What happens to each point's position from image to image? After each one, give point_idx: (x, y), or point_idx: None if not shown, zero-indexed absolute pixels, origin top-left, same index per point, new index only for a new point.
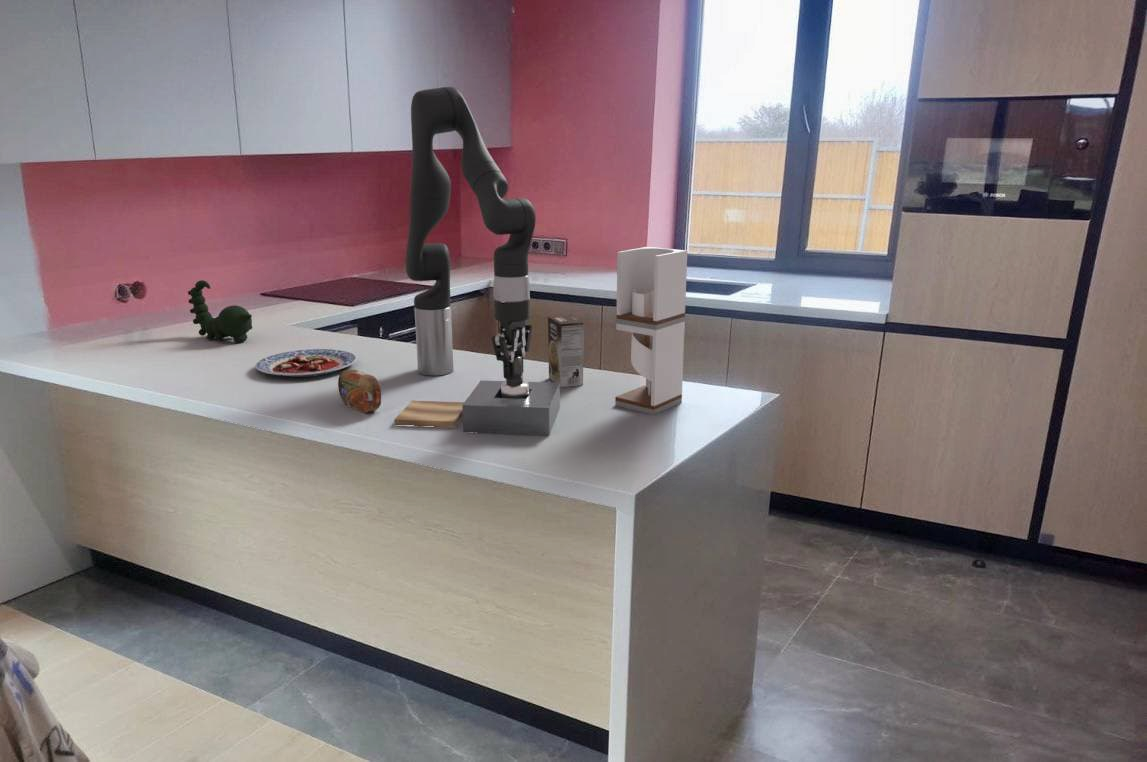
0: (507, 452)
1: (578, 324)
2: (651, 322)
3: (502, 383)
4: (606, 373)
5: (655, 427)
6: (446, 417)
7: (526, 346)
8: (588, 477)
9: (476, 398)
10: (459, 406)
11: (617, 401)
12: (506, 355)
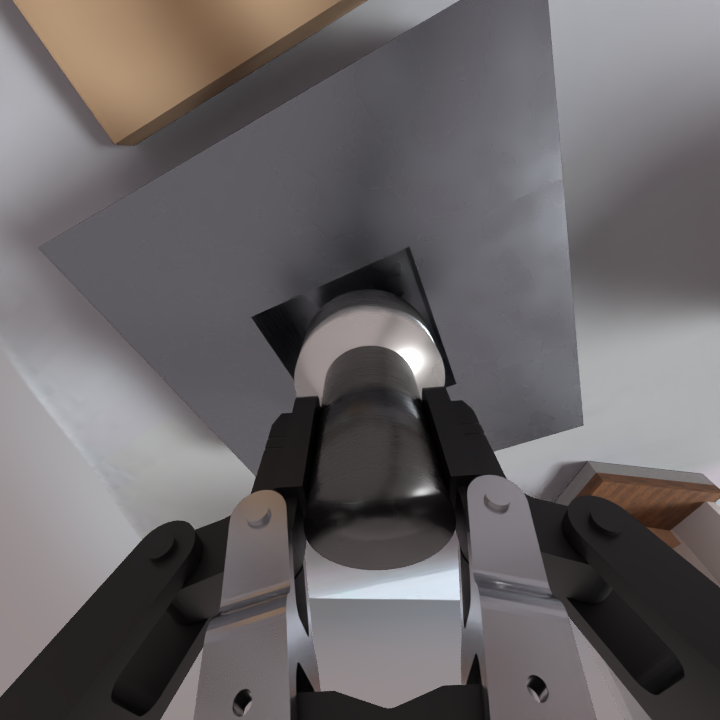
0: (141, 421)
1: None
2: None
3: (353, 321)
4: None
5: (456, 549)
6: (114, 49)
7: (572, 616)
8: None
9: (177, 243)
10: None
11: (591, 476)
12: (161, 648)
